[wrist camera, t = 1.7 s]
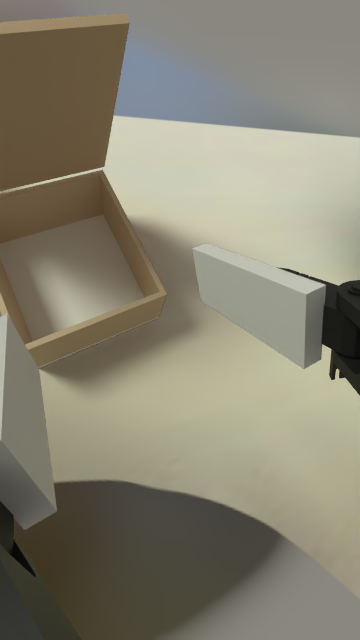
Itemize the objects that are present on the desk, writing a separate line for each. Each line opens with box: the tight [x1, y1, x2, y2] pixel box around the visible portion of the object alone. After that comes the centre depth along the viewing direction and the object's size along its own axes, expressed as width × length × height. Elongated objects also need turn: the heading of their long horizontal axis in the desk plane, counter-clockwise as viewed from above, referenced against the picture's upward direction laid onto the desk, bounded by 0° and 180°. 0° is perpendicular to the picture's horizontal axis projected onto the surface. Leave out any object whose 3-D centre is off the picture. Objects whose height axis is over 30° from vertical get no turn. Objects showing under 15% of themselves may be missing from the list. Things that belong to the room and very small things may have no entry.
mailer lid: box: [0, 13, 130, 191], centre depth 25 cm, size 16×18×1 cm
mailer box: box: [0, 170, 167, 369], centre depth 36 cm, size 16×18×8 cm
